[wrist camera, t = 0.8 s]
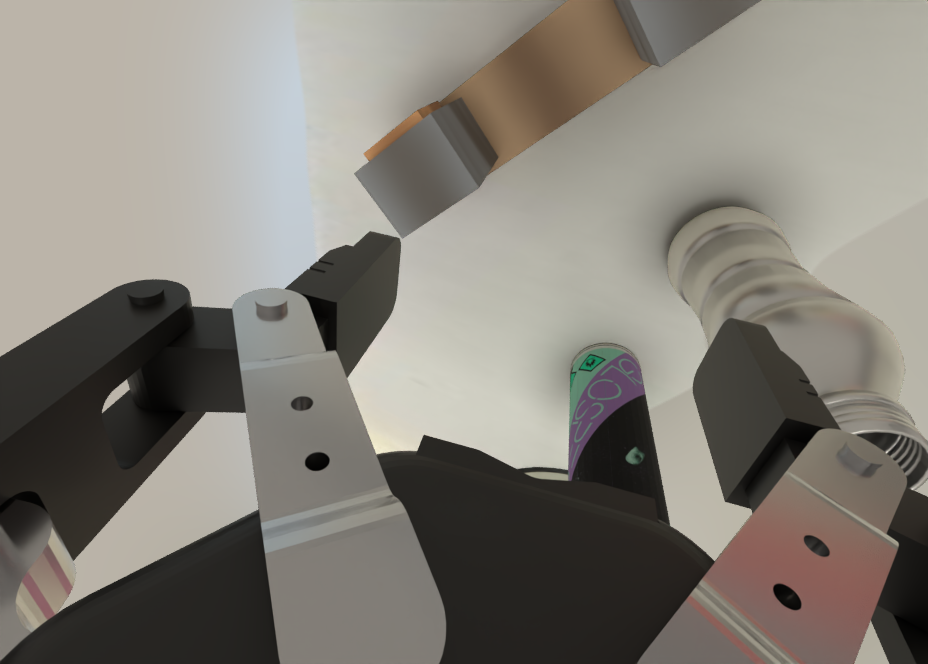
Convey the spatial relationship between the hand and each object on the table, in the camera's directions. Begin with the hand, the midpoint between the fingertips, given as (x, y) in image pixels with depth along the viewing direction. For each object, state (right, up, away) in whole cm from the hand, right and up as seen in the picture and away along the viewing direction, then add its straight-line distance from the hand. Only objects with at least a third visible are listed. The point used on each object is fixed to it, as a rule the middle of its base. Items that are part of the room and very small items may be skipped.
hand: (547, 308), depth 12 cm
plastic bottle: (+15, +5, +20) cm, 26 cm away
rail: (+3, +15, +17) cm, 23 cm away
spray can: (+9, -4, +27) cm, 29 cm away
